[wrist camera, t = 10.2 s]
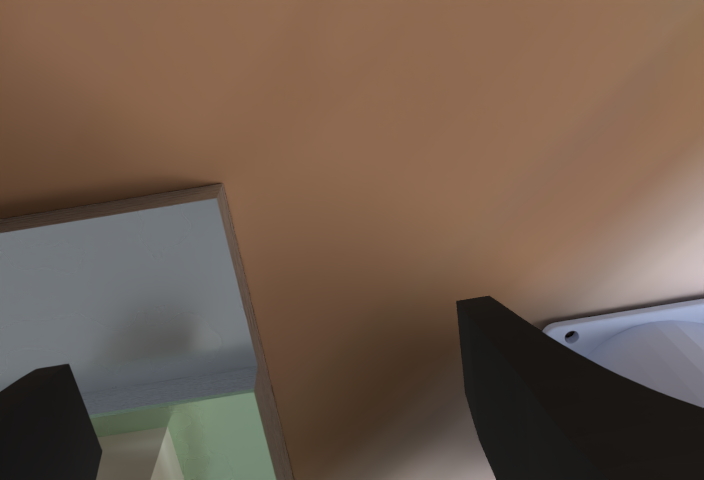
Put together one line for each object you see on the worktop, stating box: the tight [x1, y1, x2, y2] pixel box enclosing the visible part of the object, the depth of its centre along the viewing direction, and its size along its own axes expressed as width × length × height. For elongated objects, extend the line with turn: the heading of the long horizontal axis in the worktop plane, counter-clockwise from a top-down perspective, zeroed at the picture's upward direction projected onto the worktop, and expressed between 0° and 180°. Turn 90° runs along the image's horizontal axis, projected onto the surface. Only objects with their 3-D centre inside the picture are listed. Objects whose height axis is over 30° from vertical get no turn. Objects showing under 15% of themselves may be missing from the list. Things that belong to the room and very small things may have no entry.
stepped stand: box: [0, 183, 294, 480], centre depth 22 cm, size 10×18×4 cm, turn 8°
